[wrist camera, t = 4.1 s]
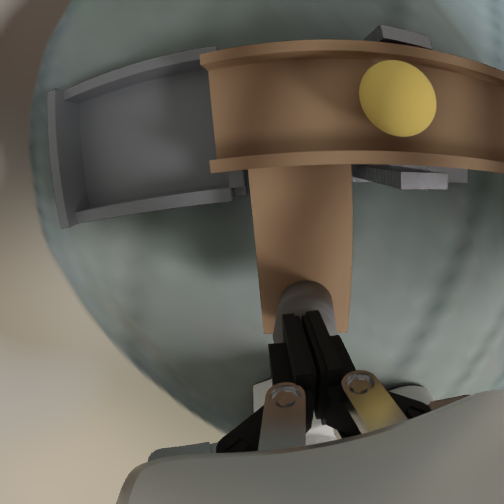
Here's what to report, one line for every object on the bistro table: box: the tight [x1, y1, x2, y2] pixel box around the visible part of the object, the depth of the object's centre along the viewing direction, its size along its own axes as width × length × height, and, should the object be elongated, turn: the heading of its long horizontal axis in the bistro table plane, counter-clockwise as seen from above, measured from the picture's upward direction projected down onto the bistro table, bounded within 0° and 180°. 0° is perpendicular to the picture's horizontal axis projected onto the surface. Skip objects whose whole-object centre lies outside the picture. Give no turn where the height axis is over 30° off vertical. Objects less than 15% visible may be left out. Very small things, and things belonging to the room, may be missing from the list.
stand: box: [351, 25, 468, 189], centre depth 13 cm, size 12×9×7 cm
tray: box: [47, 46, 246, 229], centre depth 15 cm, size 13×10×4 cm
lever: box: [200, 39, 504, 343], centre depth 11 cm, size 20×16×4 cm
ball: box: [359, 60, 436, 137], centre depth 9 cm, size 4×4×4 cm
